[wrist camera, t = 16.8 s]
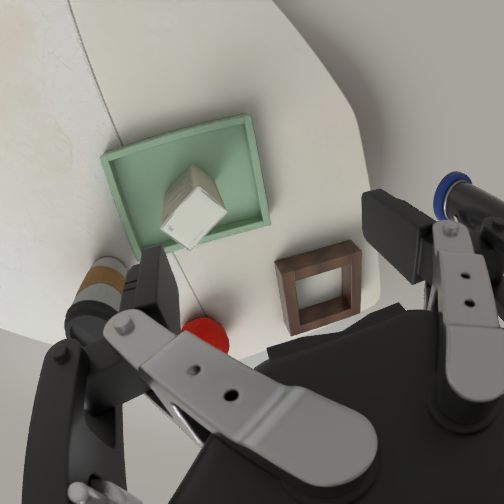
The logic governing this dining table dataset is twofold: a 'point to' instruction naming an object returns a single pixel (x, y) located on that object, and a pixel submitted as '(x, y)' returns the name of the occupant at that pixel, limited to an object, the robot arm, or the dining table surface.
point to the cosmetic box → (191, 208)
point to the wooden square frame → (315, 264)
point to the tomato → (209, 332)
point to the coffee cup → (96, 301)
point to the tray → (174, 165)
